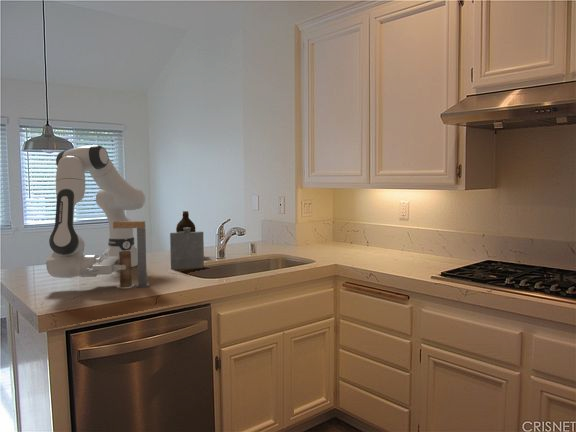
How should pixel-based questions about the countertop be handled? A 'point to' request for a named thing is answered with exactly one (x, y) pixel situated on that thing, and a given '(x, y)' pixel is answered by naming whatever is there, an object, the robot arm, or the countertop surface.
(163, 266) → the countertop surface
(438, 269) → the countertop surface
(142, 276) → the keeper
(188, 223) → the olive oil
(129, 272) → the brown tall wooden block
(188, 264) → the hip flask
